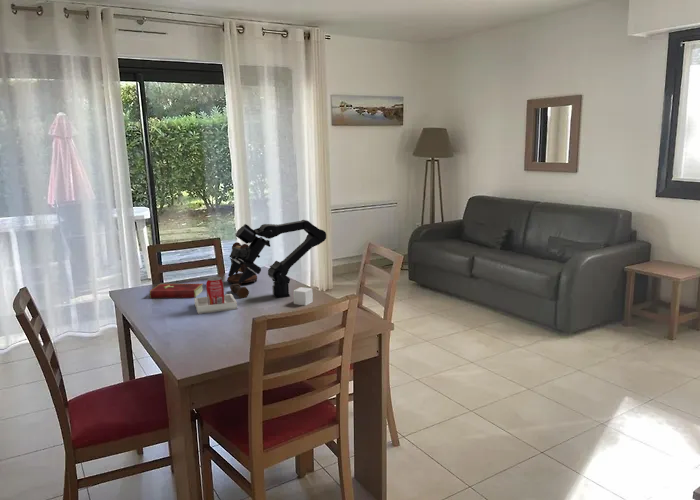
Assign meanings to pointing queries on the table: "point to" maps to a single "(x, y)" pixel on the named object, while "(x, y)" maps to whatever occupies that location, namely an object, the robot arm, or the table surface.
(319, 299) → the table surface
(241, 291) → the bolt
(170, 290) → the hardcover book
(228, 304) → the tray
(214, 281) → the soda can
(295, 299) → the white cube
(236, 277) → the brown round based stand
